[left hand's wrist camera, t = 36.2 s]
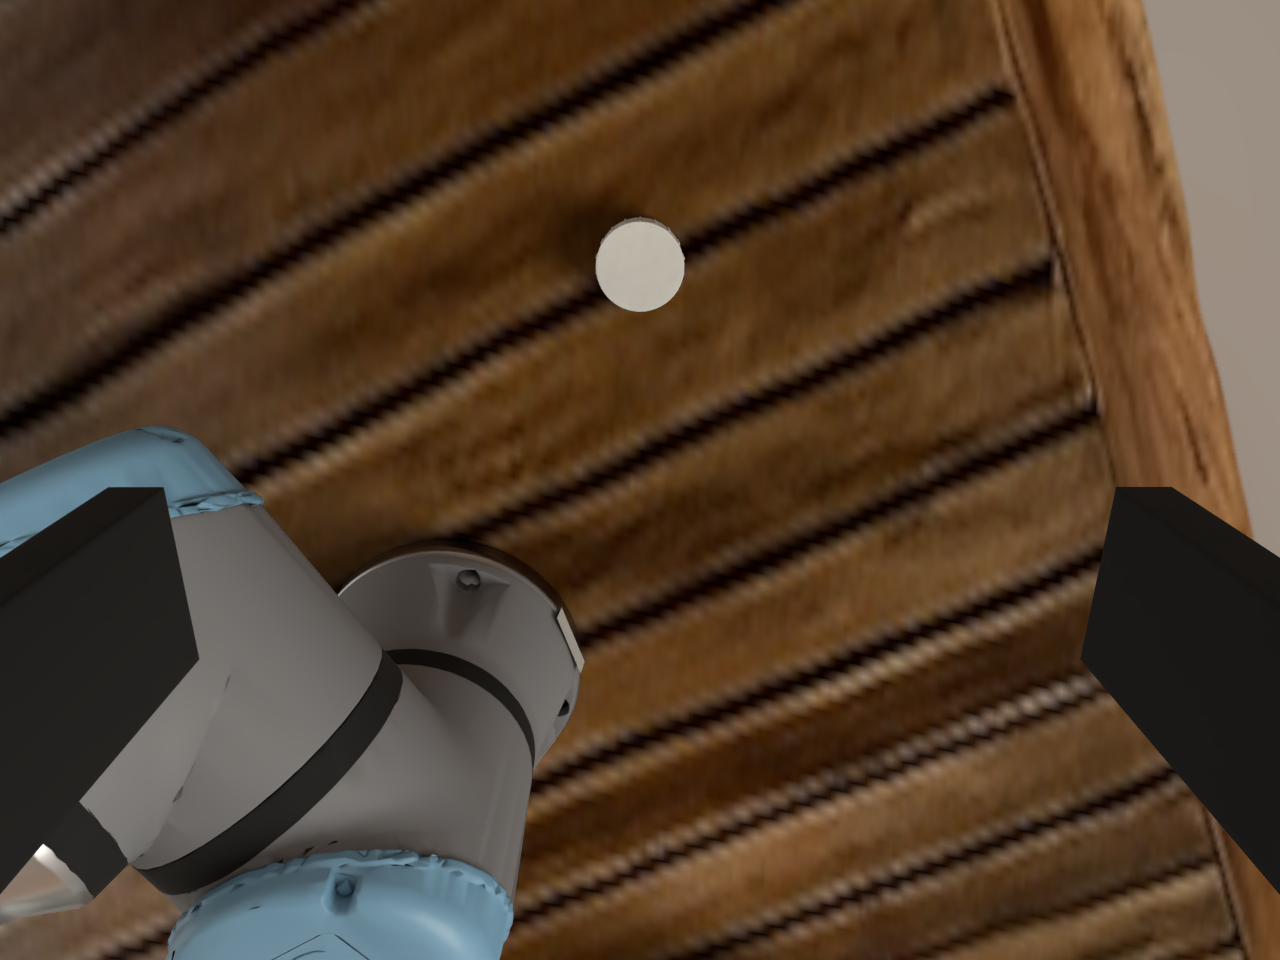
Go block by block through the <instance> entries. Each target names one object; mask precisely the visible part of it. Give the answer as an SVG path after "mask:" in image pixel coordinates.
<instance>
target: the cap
mask: <svg viewBox="0 0 1280 960" xmlns="http://www.w3.org/2000/svg"><path fill="white" fill-rule="evenodd" d="M679 244H680V243H679V240H678V239H676V237H675V236H674V234H673V233H672V232H671V231H670V229H669V227H666V226H665V225H663V224H662V223H660V222H658V221H656V219H654V220H653V219H649V218H642V217H641V216H640V217H638V218H631V219H627V220H626V219H624V221H622V222H620V223H618V224H617V225H615V226H614V227H613V226H612V227H611V230H610V231H609V232H608V233H607V234H606V236H605V237H604V239H603V238H602V240H601V245H600V248H599V251H598V253H597V255H596V258H595V259H596V274H597V279H598V282H599V285H600V287H601V289H602V290H603V292H604V293H605V295H606V296H607V297H608V298H609V299H610V300H611V301H612V302H613V303H615V304H616V305H618V306H620V307H622V308H624V309H627V310H631V311H638V312H642V311H650V310H653V309H656V308H658V307H660V306H662V305H664V304H665V303H667V302H668V301H669V300H670V299H671V298H672V297H673V296H674V295H675V293H676V292H677V290H678V289H679V287H680V285H681V282H682V279H683V275H684V259H685V258H684V255H683V253H682V251H681V248H680V245H679Z"/></svg>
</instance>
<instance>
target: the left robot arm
mask: <svg viewBox="0 0 1280 960" xmlns="http://www.w3.org/2000/svg"><path fill="white" fill-rule="evenodd" d="M263 504H264V501H263V499H262V498H261V497H260V496H259V495H257V494H256V493H253V492H249V491H248V490H247V489H246V488H245V487H244V486H243V485H242V484H241V483H240V482H239V481H238V480H237V479H236V478H235V477H234V476H233V475H232V474H231V473H230V472H229V471H228V470H227V469H226V468H225V467H224V466H223V465H222V464H221V462H220V461H219V460H218V459H217V458H216V457H215V456H214V455H213V454H212V453H211V452H210V451H209V450H208V449H207V448H206V447H205V446H204V445H203V444H202V443H201V442H200V441H199V440H198V439H197V438H195V437H194V436H192V435H190V434H188V433H186V432H184V431H182V430H179V429H176V428H172V427H167V426H145V427H140V428H135V429H131V430H127V431H124V432H121V433H118V434H115V435H112V436H109V437H106V438H103V439H101V440H98V441H95V442H93V443H90V444H88V445H85V446H83V447H81V448H78V449H76V450H74V451H71V452H69V453H66V454H64V455H61V456H59V457H57V458H54V459H52V460H50V461H48V462H45V463H43V464H41V465H39V466H37V467H34V468H32V469H30V470H28V471H26V472H23V473H21V474H19V475H17V476H15V477H12V478H10V479H8V480H6V481H4V482H2V483H0V926H1V925H3V924H5V923H8V922H10V921H13V920H15V919H17V918H21V917H27V916H34V915H40V914H47V913H53V912H59V911H66V910H72V909H78V908H83V907H84V906H86V905H87V904H88V903H89V902H90V901H92V900H93V899H94V898H95V897H96V896H97V895H98V894H99V893H100V892H101V891H102V890H103V889H104V888H105V887H106V886H107V885H108V884H109V883H110V882H111V881H112V880H113V879H114V878H115V877H116V876H117V875H118V874H119V873H120V872H121V871H122V870H123V869H124V868H125V867H126V866H127V865H128V864H129V863H130V864H131V865H132V866H133V867H134V868H135V869H136V870H138V871H139V872H140V873H141V874H142V875H143V876H144V877H145V878H146V879H147V880H148V881H149V882H151V883H152V884H153V885H154V886H155V887H156V888H157V889H158V890H159V891H160V892H161V893H162V894H163V895H164V896H166V897H167V898H168V899H169V900H170V901H171V902H172V903H173V904H174V905H175V906H176V907H177V908H178V909H179V910H181V912H182V913H183V914H182V915H181V917H180V918H179V919H178V921H177V923H176V925H175V926H174V928H173V929H172V933H171V935H170V937H169V940H168V944H167V957H166V960H500V956H501V951H502V947H503V944H504V942H505V941H506V939H507V937H508V935H509V930H510V928H511V926H512V923H513V904H514V897H515V890H516V884H517V877H518V870H519V863H520V856H521V849H522V842H523V836H524V829H525V822H526V815H527V808H528V801H529V794H530V787H531V781H532V773H533V770H534V768H535V767H536V766H537V764H538V763H539V762H540V760H541V759H542V757H543V756H544V755H545V753H546V752H547V751H548V749H549V748H550V747H551V745H552V744H553V743H554V741H555V740H556V738H557V737H558V736H559V735H560V734H561V732H562V731H563V729H564V728H565V726H566V724H567V723H568V721H569V719H570V717H571V715H572V712H573V710H574V707H575V704H576V700H577V696H578V691H579V682H580V673H581V671H582V668H583V665H584V662H585V661H584V659H583V657H582V654H581V645H580V640H579V635H578V632H577V629H576V626H575V623H574V620H573V618H572V616H571V614H570V612H569V610H568V608H567V607H566V605H565V603H564V602H563V600H562V599H561V598H560V596H559V595H558V593H557V592H556V591H555V590H554V589H553V588H552V587H551V585H550V584H549V583H548V582H547V581H546V580H545V579H543V578H542V577H541V576H540V575H539V574H538V573H537V572H535V571H534V570H533V569H531V568H530V567H529V566H527V565H525V564H524V563H522V562H521V561H519V560H517V559H516V558H514V557H512V556H510V555H508V554H506V553H503V552H501V551H498V550H496V549H493V548H490V547H486V546H483V545H479V544H474V543H470V542H463V541H454V540H434V541H423V542H417V543H412V544H408V545H404V546H401V547H398V548H395V549H392V550H390V551H387V552H385V553H383V554H381V555H379V556H377V557H376V558H374V559H372V560H371V561H369V562H368V563H366V564H365V565H364V566H362V567H361V568H360V569H358V570H357V571H356V572H355V573H354V574H353V575H352V576H351V577H350V578H349V579H348V581H347V582H346V583H345V584H344V585H343V587H342V588H341V590H340V591H339V593H338V594H336V593H335V592H334V590H333V589H332V588H331V587H330V586H329V584H328V583H327V582H326V581H325V580H324V578H323V577H322V576H321V575H320V574H319V572H318V571H317V570H316V569H315V568H314V567H313V565H312V564H311V563H310V562H309V561H308V559H307V558H306V557H305V556H304V555H303V553H302V552H301V551H300V550H299V549H298V547H297V546H296V545H295V544H294V543H293V541H292V540H291V539H290V538H289V537H288V536H287V534H286V533H285V532H284V531H283V530H282V528H281V527H280V526H279V525H278V524H277V522H276V521H275V520H274V519H273V518H272V516H271V515H270V514H269V513H268V512H267V510H266V509H265V508H264V507H263ZM1081 660H1082V662H1083V663H1084V664H1085V665H1086V666H1087V668H1088V669H1089V670H1090V671H1091V672H1092V673H1093V675H1094V676H1095V677H1096V678H1097V679H1098V681H1099V682H1100V683H1101V684H1102V685H1103V686H1104V688H1105V689H1106V690H1107V691H1108V692H1109V694H1110V695H1111V696H1112V697H1113V698H1114V699H1115V701H1116V702H1117V703H1118V704H1119V705H1120V707H1121V708H1122V709H1123V710H1124V711H1125V712H1126V714H1127V715H1128V716H1129V717H1130V718H1131V720H1132V721H1133V722H1134V723H1135V724H1136V725H1137V727H1138V728H1139V729H1140V730H1141V731H1142V732H1143V734H1144V735H1145V736H1146V737H1147V738H1148V740H1149V741H1150V742H1151V743H1152V744H1153V745H1154V747H1155V748H1156V749H1157V750H1158V751H1159V753H1160V754H1161V755H1162V756H1163V757H1164V758H1165V760H1166V761H1167V762H1168V763H1169V764H1170V766H1171V767H1172V768H1173V769H1174V770H1175V771H1176V773H1177V774H1178V775H1179V776H1180V777H1181V779H1182V780H1183V781H1184V782H1185V783H1186V784H1187V786H1188V787H1189V788H1190V789H1191V790H1192V792H1193V793H1194V794H1195V795H1196V796H1197V797H1198V799H1199V800H1200V801H1201V802H1202V803H1203V804H1204V806H1205V807H1206V808H1207V809H1208V810H1209V812H1210V813H1211V814H1212V815H1213V816H1214V817H1215V819H1216V820H1217V821H1218V822H1219V823H1220V825H1221V826H1222V827H1223V828H1224V829H1225V830H1226V832H1227V833H1228V834H1229V835H1230V836H1231V838H1232V839H1233V840H1234V841H1235V842H1236V843H1237V845H1238V846H1239V847H1240V848H1241V849H1242V851H1243V852H1244V853H1245V854H1246V855H1247V856H1248V858H1249V859H1250V860H1251V861H1252V862H1253V864H1254V865H1255V866H1256V867H1257V868H1258V869H1259V871H1260V872H1261V873H1262V874H1263V875H1264V876H1265V878H1266V879H1267V880H1268V881H1269V882H1270V884H1271V885H1272V886H1273V887H1274V888H1275V889H1276V891H1277V892H1278V893H1279V894H1280V558H1279V557H1278V556H1276V555H1275V554H1273V553H1272V552H1270V551H1269V550H1267V549H1266V548H1264V547H1263V546H1261V545H1260V544H1258V543H1257V542H1255V541H1253V540H1252V539H1250V538H1249V537H1247V536H1246V535H1244V534H1243V533H1241V532H1240V531H1238V530H1237V529H1235V528H1234V527H1232V526H1231V525H1229V524H1227V523H1226V522H1224V521H1223V520H1221V519H1220V518H1218V517H1217V516H1215V515H1214V514H1212V513H1211V512H1209V511H1208V510H1206V509H1205V508H1203V507H1201V506H1200V505H1198V504H1197V503H1195V502H1194V501H1192V500H1191V499H1189V498H1188V497H1186V496H1185V495H1183V494H1182V493H1180V492H1179V491H1177V490H1175V489H1174V488H1172V487H1116V490H1115V495H1114V500H1113V505H1112V510H1111V514H1110V519H1109V524H1108V529H1107V534H1106V539H1105V543H1104V548H1103V553H1102V558H1101V563H1100V567H1099V572H1098V577H1097V582H1096V587H1095V592H1094V596H1093V601H1092V606H1091V611H1090V616H1089V620H1088V625H1087V630H1086V635H1085V640H1084V644H1083V649H1082V654H1081Z"/></svg>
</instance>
